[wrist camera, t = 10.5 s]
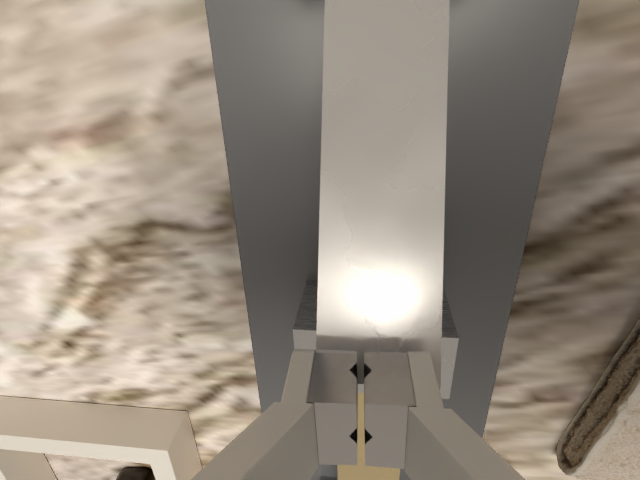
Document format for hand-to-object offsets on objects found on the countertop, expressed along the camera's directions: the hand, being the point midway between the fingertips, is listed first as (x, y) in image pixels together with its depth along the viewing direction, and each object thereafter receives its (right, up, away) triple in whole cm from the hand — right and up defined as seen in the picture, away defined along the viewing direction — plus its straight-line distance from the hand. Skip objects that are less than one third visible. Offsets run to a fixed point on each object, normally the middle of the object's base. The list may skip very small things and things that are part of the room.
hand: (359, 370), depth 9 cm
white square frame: (-17, -15, +22) cm, 32 cm away
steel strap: (+1, +6, +2) cm, 6 cm away
